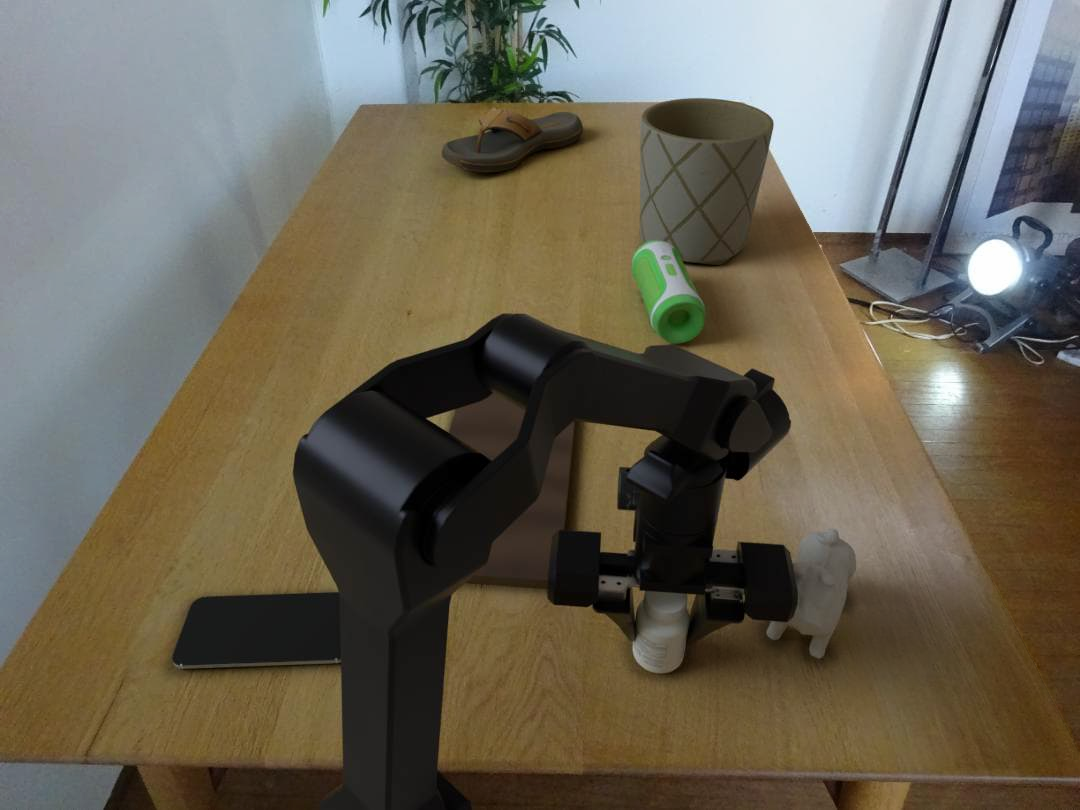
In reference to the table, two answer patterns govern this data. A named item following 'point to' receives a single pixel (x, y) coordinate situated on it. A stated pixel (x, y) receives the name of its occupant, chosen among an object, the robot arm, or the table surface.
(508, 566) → the shelf board
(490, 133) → the sandal
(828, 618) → the dog figurine
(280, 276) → the table surface
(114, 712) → the table surface
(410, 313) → the table surface
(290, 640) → the smartphone
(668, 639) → the pill bottle
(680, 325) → the speaker
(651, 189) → the planter
